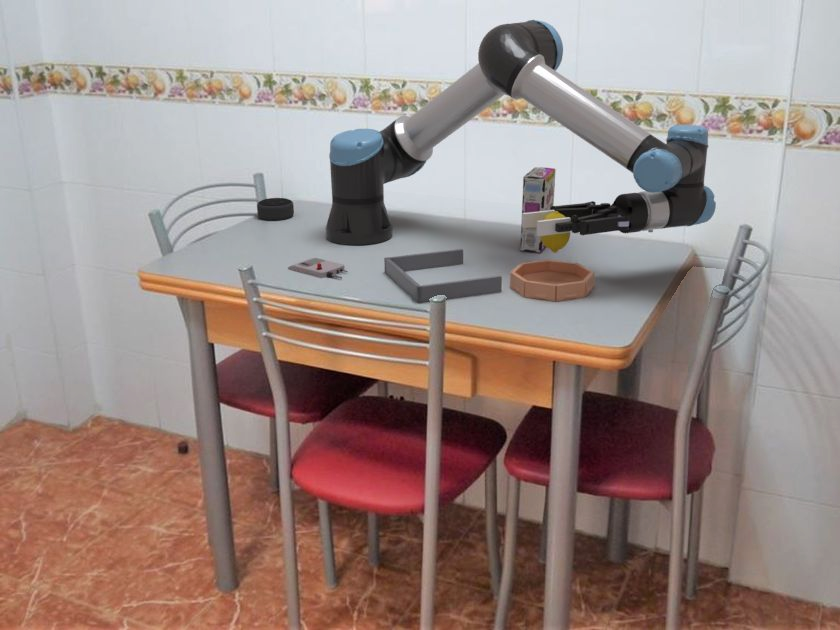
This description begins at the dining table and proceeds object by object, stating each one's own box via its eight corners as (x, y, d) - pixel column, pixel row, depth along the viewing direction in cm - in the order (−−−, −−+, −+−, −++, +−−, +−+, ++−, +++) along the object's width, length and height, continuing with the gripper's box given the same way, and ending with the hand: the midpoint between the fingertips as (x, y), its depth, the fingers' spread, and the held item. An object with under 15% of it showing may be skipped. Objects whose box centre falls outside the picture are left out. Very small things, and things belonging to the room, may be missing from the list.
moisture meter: (304, 262, 196) (303, 248, 195) (359, 276, 187) (359, 261, 186) (281, 269, 191) (280, 255, 190) (337, 284, 182) (336, 269, 181)
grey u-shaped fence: (384, 272, 187) (384, 257, 186) (461, 262, 193) (461, 248, 192) (417, 302, 170) (417, 287, 169) (501, 291, 175) (501, 276, 174)
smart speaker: (264, 212, 234) (263, 196, 233) (298, 213, 233) (297, 197, 232) (252, 221, 226) (251, 205, 225) (288, 222, 225) (287, 206, 223)
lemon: (571, 256, 172) (573, 214, 170) (541, 257, 172) (542, 215, 170) (566, 248, 177) (568, 207, 175) (538, 248, 177) (539, 207, 175)
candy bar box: (542, 254, 198) (545, 177, 192) (519, 251, 199) (521, 176, 194) (553, 240, 208) (556, 167, 202) (531, 238, 209) (533, 165, 203)
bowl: (499, 280, 182) (499, 265, 181) (567, 271, 186) (568, 256, 185) (534, 304, 169) (534, 289, 167) (606, 294, 173) (607, 279, 172)
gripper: (665, 243, 172) (553, 257, 164) (612, 219, 188) (508, 232, 181) (668, 203, 169) (554, 216, 162) (614, 183, 185) (509, 194, 178)
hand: (530, 224), depth 171 cm, fingers closed on lemon, 5 cm apart
